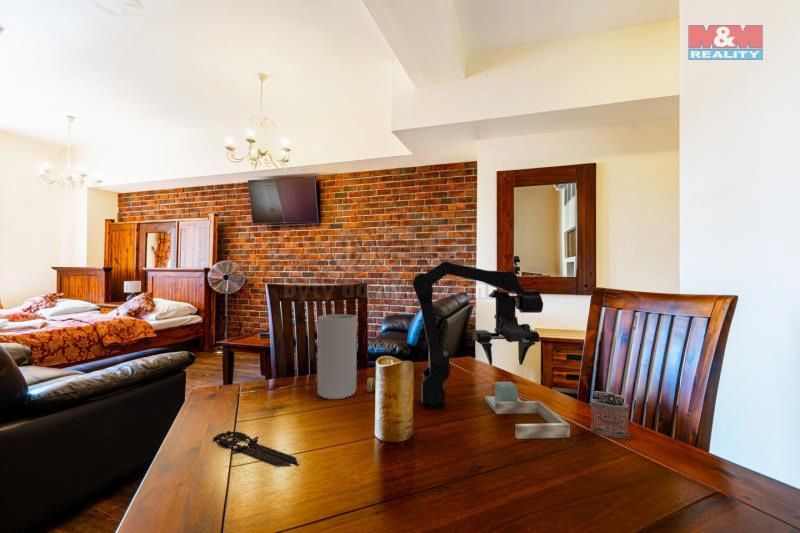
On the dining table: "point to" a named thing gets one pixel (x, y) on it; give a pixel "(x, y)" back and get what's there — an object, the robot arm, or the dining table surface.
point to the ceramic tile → (493, 401)
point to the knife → (255, 448)
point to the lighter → (609, 415)
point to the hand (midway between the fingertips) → (505, 364)
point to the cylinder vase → (337, 356)
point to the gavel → (370, 385)
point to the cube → (506, 391)
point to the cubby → (527, 431)
